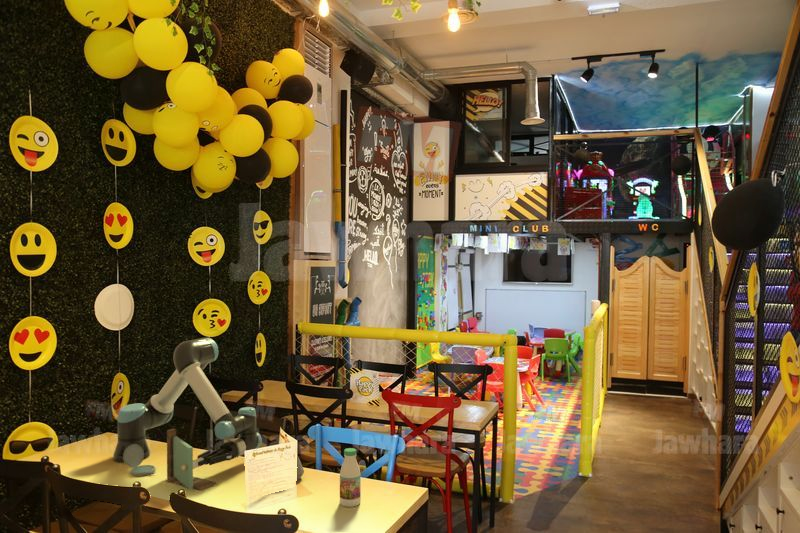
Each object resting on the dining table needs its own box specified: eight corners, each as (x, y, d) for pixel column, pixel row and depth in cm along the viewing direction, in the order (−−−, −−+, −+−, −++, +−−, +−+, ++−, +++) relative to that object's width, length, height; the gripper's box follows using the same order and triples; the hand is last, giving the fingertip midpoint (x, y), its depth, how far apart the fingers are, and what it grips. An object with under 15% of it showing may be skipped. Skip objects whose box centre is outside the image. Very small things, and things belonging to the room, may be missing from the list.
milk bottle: (339, 499, 228) (339, 446, 228) (360, 498, 229) (360, 446, 228) (339, 507, 220) (339, 453, 220) (360, 507, 221) (360, 452, 221)
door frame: (162, 480, 247) (162, 431, 247) (177, 474, 254) (177, 427, 254) (201, 490, 237) (201, 439, 236) (216, 484, 244) (216, 434, 243)
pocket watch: (141, 441, 265) (164, 446, 257) (141, 466, 265) (164, 472, 257) (120, 447, 256) (143, 453, 249) (121, 473, 257) (143, 479, 249)
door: (167, 476, 248) (167, 437, 248) (176, 474, 250) (176, 436, 250) (183, 490, 233) (183, 449, 233) (192, 488, 235) (192, 447, 235)
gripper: (244, 460, 257) (202, 478, 236) (221, 455, 263) (177, 472, 243) (244, 442, 257) (202, 459, 236) (221, 438, 263) (177, 453, 243)
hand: (189, 465), depth 239 cm, fingers closed
